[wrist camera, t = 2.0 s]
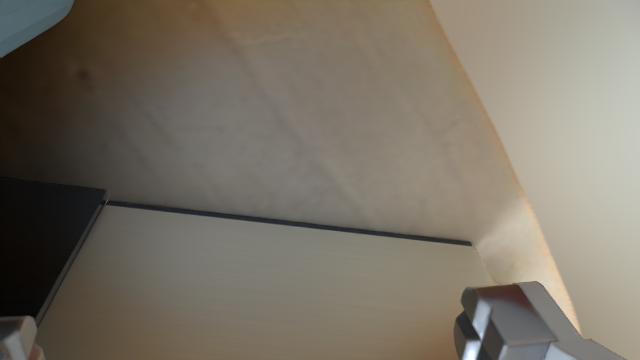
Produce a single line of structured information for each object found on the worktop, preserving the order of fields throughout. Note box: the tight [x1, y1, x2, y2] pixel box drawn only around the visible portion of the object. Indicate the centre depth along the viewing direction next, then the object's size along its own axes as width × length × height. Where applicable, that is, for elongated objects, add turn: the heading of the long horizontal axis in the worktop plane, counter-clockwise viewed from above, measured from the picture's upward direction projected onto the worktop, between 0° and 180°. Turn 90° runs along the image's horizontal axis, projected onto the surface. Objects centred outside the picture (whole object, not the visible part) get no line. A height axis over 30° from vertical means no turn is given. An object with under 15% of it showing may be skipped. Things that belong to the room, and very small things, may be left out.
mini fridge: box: [0, 177, 496, 360], centre depth 28 cm, size 50×35×23 cm
